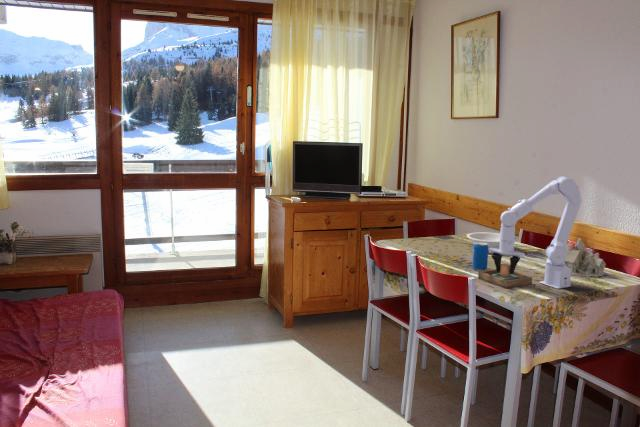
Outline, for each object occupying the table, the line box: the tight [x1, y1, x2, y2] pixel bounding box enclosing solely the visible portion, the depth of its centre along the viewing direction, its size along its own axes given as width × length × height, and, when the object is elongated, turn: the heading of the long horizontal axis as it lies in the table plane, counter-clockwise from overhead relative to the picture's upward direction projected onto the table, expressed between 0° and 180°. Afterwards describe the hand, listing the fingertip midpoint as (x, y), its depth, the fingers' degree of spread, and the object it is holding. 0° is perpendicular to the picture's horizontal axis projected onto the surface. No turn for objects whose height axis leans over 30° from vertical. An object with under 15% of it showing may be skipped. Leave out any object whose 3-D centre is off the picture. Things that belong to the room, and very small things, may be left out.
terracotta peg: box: [500, 263, 511, 278], centre depth 231 cm, size 4×4×6 cm
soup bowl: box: [466, 231, 500, 251], centre depth 290 cm, size 24×24×7 cm
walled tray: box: [477, 269, 533, 290], centre depth 231 cm, size 16×14×3 cm
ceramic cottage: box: [565, 238, 607, 278], centre depth 244 cm, size 16×16×15 cm
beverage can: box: [471, 242, 489, 272], centre depth 249 cm, size 6×6×12 cm
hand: (505, 272), depth 231 cm, fingers open, 5 cm apart
